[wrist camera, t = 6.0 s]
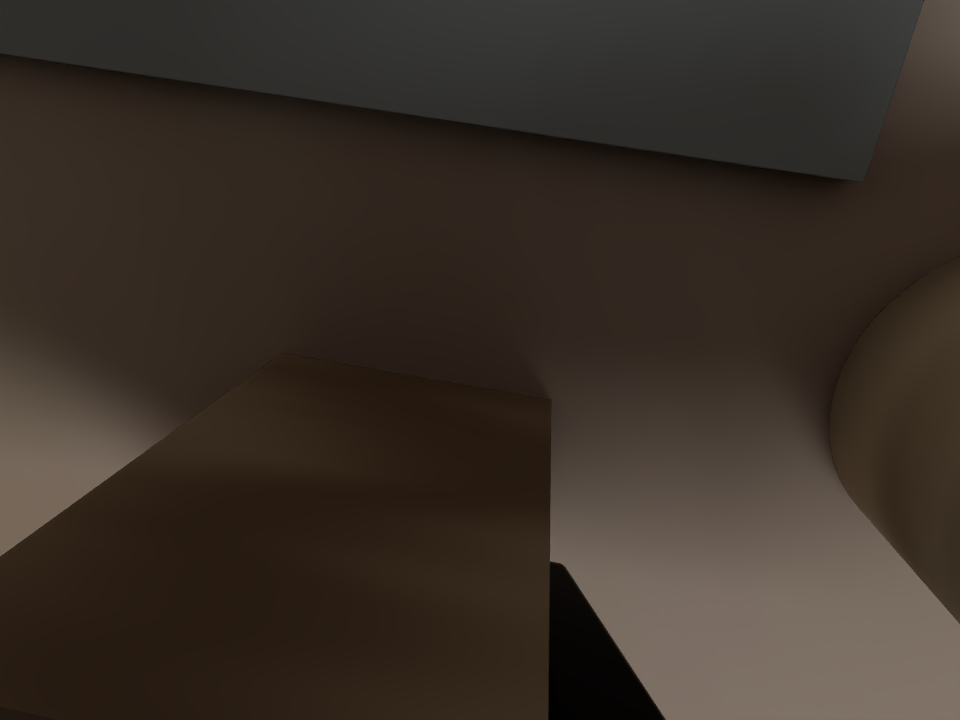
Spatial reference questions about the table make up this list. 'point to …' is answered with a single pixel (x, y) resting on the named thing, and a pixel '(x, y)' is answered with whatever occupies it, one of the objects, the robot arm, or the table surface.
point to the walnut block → (299, 562)
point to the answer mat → (529, 64)
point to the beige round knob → (908, 428)
